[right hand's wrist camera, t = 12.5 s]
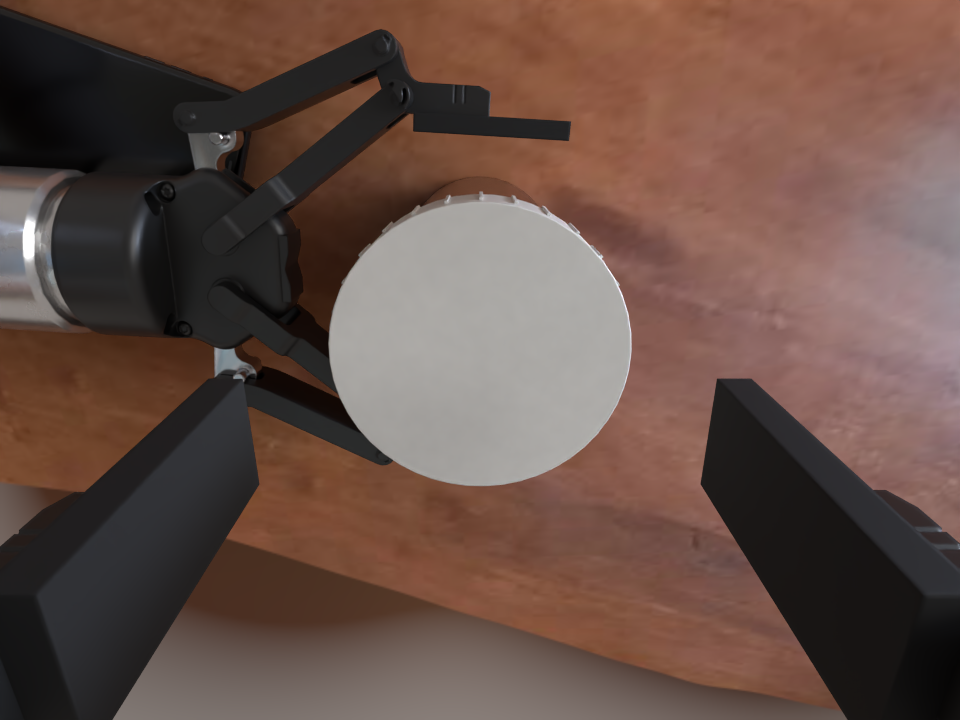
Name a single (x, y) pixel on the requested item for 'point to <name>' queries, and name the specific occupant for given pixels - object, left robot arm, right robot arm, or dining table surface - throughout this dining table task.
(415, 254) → the lid
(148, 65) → the smartphone
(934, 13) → the dining table surface
